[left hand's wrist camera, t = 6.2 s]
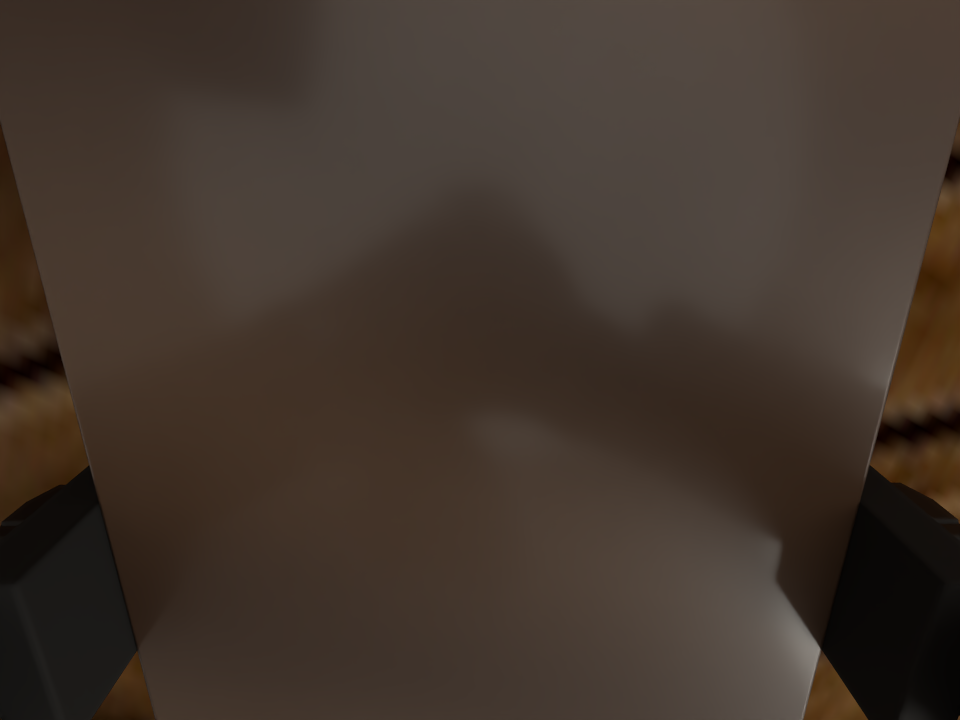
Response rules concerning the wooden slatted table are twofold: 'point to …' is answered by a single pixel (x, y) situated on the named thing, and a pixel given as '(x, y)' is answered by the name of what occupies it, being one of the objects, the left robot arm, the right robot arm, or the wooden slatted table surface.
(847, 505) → the cabinet
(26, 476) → the wooden slatted table surface
